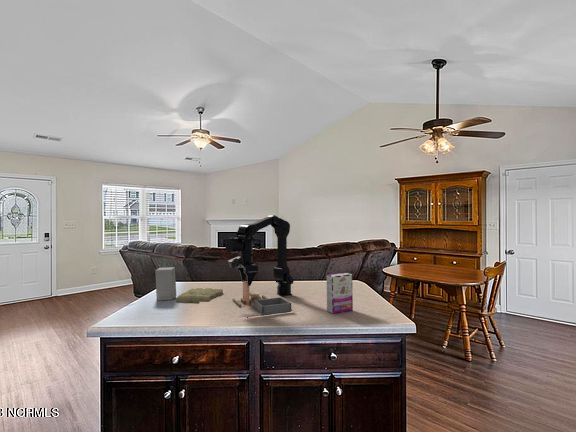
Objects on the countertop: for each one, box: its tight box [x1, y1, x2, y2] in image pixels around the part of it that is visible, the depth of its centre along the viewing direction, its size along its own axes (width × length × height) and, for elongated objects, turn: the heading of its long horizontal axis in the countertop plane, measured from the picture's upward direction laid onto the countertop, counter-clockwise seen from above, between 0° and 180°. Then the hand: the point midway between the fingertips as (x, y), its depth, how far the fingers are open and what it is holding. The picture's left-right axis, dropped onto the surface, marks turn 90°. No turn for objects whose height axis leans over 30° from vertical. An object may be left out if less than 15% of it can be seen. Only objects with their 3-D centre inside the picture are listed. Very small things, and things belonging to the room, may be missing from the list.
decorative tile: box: [175, 287, 224, 303], centre depth 168 cm, size 19×20×4 cm
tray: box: [253, 296, 292, 316], centre depth 145 cm, size 14×12×4 cm
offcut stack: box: [249, 291, 262, 304], centre depth 156 cm, size 4×5×4 cm
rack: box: [232, 295, 269, 308], centre depth 156 cm, size 16×12×2 cm
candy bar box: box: [326, 272, 354, 315], centre depth 144 cm, size 11×5×16 cm, turn 117°
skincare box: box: [155, 266, 177, 301], centre depth 165 cm, size 8×7×16 cm
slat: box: [242, 280, 250, 305], centre depth 154 cm, size 1×6×10 cm, turn 25°
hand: (246, 283), depth 155 cm, fingers open, 9 cm apart
